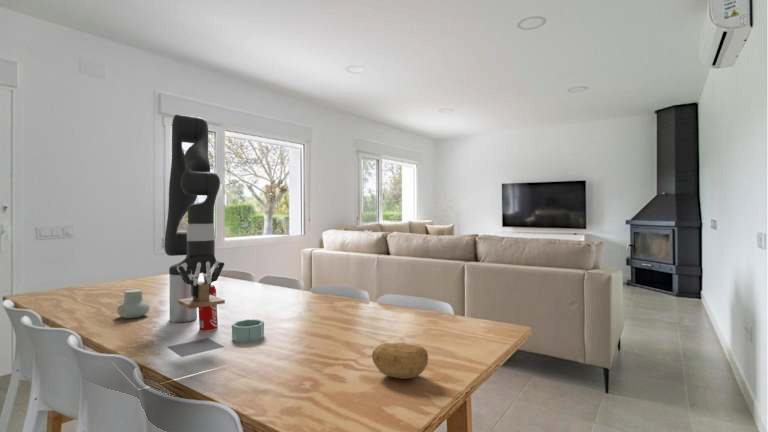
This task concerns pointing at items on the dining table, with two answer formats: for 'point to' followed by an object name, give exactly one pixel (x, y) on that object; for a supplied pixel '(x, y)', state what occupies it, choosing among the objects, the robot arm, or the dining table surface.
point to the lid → (201, 298)
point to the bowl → (247, 330)
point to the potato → (400, 359)
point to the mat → (195, 347)
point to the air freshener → (133, 305)
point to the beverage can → (208, 315)
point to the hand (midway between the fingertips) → (201, 296)
